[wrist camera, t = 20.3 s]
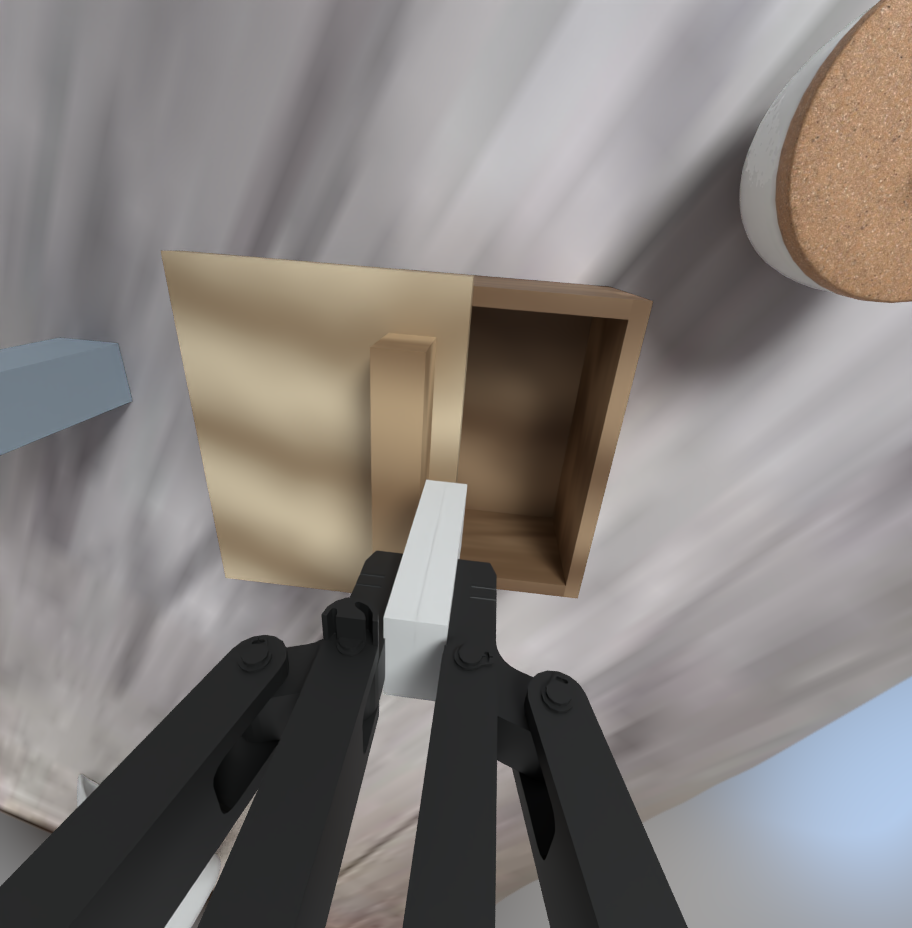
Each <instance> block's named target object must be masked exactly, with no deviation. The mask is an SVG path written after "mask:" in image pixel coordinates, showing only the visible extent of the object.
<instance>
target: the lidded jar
mask: <svg viewBox="0 0 912 928" xmlns="http://www.w3.org/2000/svg"><path fill="white" fill-rule="evenodd" d="M740 211H741V218H742V222H743V225H744V228H745V231H746V234H747V237H748V239H749V240H750V242H751V244H752V246H753V247H754V249H755V251H756V252H757V253H758V255H759V256H760V257H761V258H762V259H763V260H764V261H765V262H766V263H767V264H768V265H769V266H771V267H772V268H773V269H775V270H776V271H777V272H779V273H780V274H782V275H783V276H785V277H787V278H789V279H791V280H793V281H795V282H798V283H800V284H803V285H805V286H808V287H811V288H815V289H819V290H823V291H827V292H832V293H836V294H839V295H842V296H846V297H850V298H854V299H858V300H864V301H874V302H886V303H896V302H909V301H912V0H880V1H879V2H878V3H877V4H876V5H874V6H873V7H872V8H870V9H869V10H867V11H866V12H864V13H863V14H862V15H860V16H859V17H858V18H856V19H855V20H853V21H852V22H851V23H850V24H848V25H847V26H846V27H845V28H844V29H843V30H841V31H840V32H839V33H838V34H837V35H835V36H834V37H833V38H832V39H831V40H830V41H828V42H827V43H826V44H825V45H824V46H823V47H822V48H821V49H820V50H818V51H817V52H816V53H815V54H814V55H813V56H812V57H811V58H810V59H809V60H808V61H807V62H806V64H805V65H804V66H803V67H802V68H801V69H800V70H799V71H798V72H797V73H796V74H795V75H794V77H793V78H792V79H791V80H790V81H789V82H788V84H787V85H786V86H785V87H784V89H783V90H782V91H781V93H780V94H779V95H778V97H777V98H776V99H775V101H774V102H773V103H772V105H771V106H770V108H769V110H768V111H767V113H766V115H765V117H764V118H763V120H762V122H761V123H760V125H759V127H758V130H757V132H756V134H755V136H754V139H753V141H752V143H751V146H750V148H749V150H748V153H747V156H746V160H745V163H744V167H743V170H742V177H741V183H740Z"/></svg>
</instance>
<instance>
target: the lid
mask: <svg viewBox="0 0 912 928" xmlns="http://www.w3.org/2000/svg"><path fill="white" fill-rule="evenodd" d="M161 255H162V260H163V265H164V270H165V275H166V280H167V285H168V290H169V295H170V301H171V306H172V311H173V316H174V321H175V326H176V331H177V336H178V341H179V346H180V351H181V356H182V361H183V366H184V371H185V376H186V381H187V386H188V391H189V396H190V401H191V406H192V411H193V416H194V421H195V426H196V431H197V436H198V441H199V446H200V451H201V456H202V461H203V466H204V471H205V476H206V481H207V486H208V491H209V496H210V501H211V506H212V511H213V516H214V521H215V526H216V531H217V537H218V542H219V547H220V552H221V557H222V562H223V567H224V572H225V577H226V578H231V579H239V580H247V581H256V582H264V583H273V584H281V585H289V586H298V587H306V588H315V589H323V590H331V591H340V592H348V593H352V591H353V589H354V586H355V585H356V582H357V579H358V577H359V575H360V572H361V570H362V568H363V565H364V563H365V560H366V559H368V558H369V557H370V556H371V555H372V554H373V553H374V552H375V551H377V550H378V551H386V552H394V553H404V550H405V547H406V544H407V540H408V537H409V534H410V531H411V527H412V524H413V521H414V518H415V515H416V511H417V508H418V505H419V502H420V498H421V495H422V492H423V489H424V486H425V482H426V480H433V481H442V482H451V483H457V476H458V464H459V453H460V441H461V429H462V417H463V405H464V393H465V381H466V370H467V358H468V346H469V334H470V322H471V310H472V298H473V287H474V275H462V274H450V273H438V272H426V271H414V270H403V269H391V268H379V267H367V266H355V265H343V264H332V263H320V262H308V261H296V260H284V259H272V258H260V257H249V256H237V255H225V254H213V253H201V252H189V251H161Z"/></svg>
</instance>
